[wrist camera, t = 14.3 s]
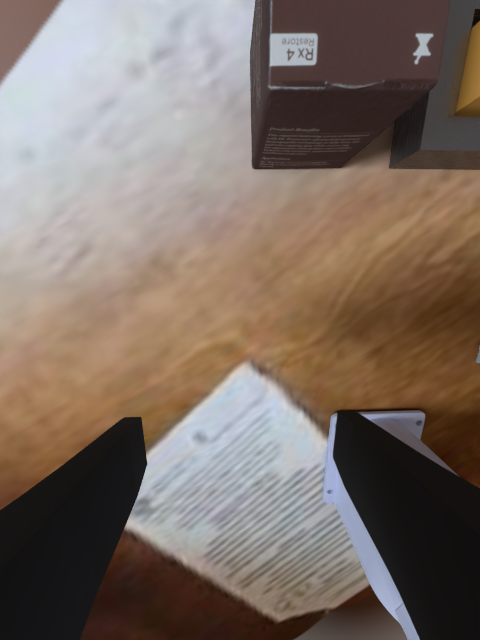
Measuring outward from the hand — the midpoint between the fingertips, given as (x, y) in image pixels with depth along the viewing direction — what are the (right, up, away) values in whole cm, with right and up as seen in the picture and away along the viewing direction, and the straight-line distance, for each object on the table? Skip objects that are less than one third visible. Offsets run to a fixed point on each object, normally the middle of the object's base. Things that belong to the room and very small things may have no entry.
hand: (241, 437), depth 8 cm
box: (+4, +17, +6) cm, 18 cm away
